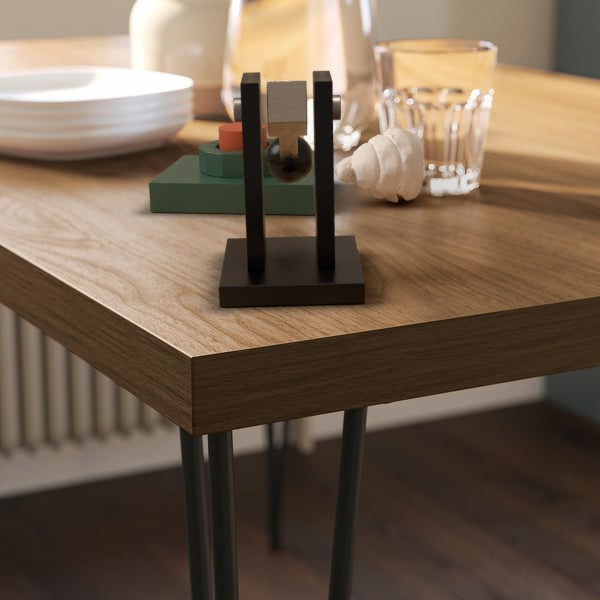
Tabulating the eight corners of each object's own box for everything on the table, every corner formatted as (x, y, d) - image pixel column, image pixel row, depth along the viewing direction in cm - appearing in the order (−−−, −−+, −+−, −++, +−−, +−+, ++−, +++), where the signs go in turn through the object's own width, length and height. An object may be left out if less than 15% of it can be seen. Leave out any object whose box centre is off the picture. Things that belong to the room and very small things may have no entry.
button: (271, 145, 89) (271, 122, 89) (262, 154, 86) (261, 131, 86) (225, 145, 90) (224, 122, 89) (214, 154, 87) (213, 130, 86)
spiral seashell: (327, 197, 89) (326, 125, 87) (403, 191, 90) (404, 120, 88) (345, 214, 84) (344, 138, 82) (426, 208, 85) (426, 133, 83)
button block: (332, 183, 93) (332, 133, 92) (313, 215, 84) (312, 159, 82) (185, 181, 95) (182, 132, 94) (150, 212, 85) (146, 158, 84)
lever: (265, 188, 78) (264, 142, 79) (313, 187, 78) (312, 140, 79) (258, 130, 65) (257, 73, 65) (316, 128, 65) (315, 72, 65)
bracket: (228, 256, 74) (219, 67, 70) (354, 253, 74) (353, 63, 70) (219, 307, 65) (209, 91, 61) (365, 303, 65) (363, 87, 61)
